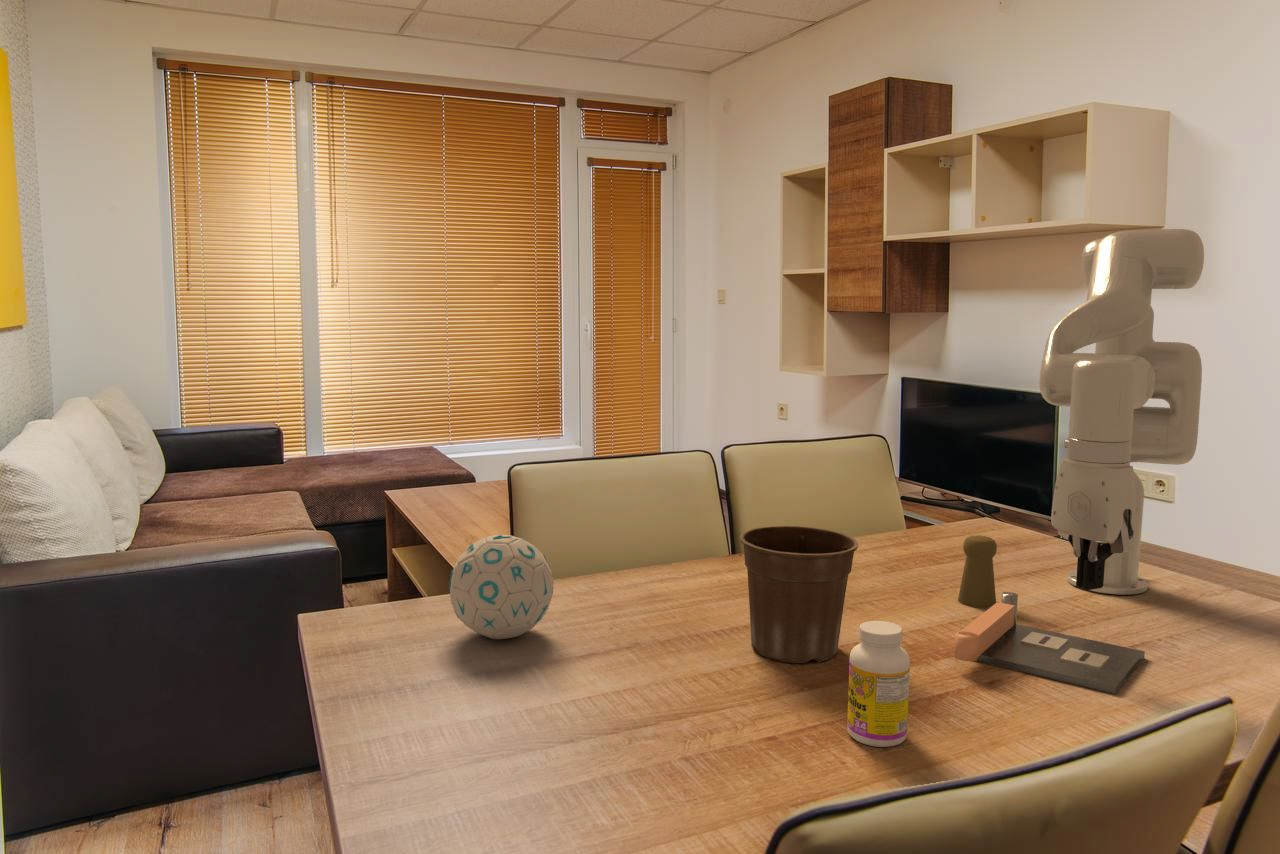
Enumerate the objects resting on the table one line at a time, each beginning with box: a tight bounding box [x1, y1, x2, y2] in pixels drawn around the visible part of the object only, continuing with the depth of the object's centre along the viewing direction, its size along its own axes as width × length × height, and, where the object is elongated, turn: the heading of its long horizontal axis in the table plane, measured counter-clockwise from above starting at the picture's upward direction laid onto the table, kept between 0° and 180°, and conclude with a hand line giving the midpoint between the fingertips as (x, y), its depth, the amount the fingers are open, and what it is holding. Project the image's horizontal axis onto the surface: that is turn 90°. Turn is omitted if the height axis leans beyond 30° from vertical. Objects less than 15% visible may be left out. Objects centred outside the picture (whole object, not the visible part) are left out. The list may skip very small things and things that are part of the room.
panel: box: [975, 591, 1146, 695], centre depth 131 cm, size 16×20×6 cm
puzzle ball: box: [448, 534, 554, 640], centre depth 139 cm, size 15×15×15 cm
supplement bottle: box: [846, 620, 911, 748], centre depth 107 cm, size 7×7×13 cm
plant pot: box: [739, 525, 859, 664], centre depth 134 cm, size 16×16×16 cm
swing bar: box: [953, 601, 1015, 662], centre depth 132 cm, size 18×3×3 cm, turn 142°
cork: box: [957, 534, 998, 609], centre depth 156 cm, size 6×6×11 cm
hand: (1089, 587), depth 127 cm, fingers closed
